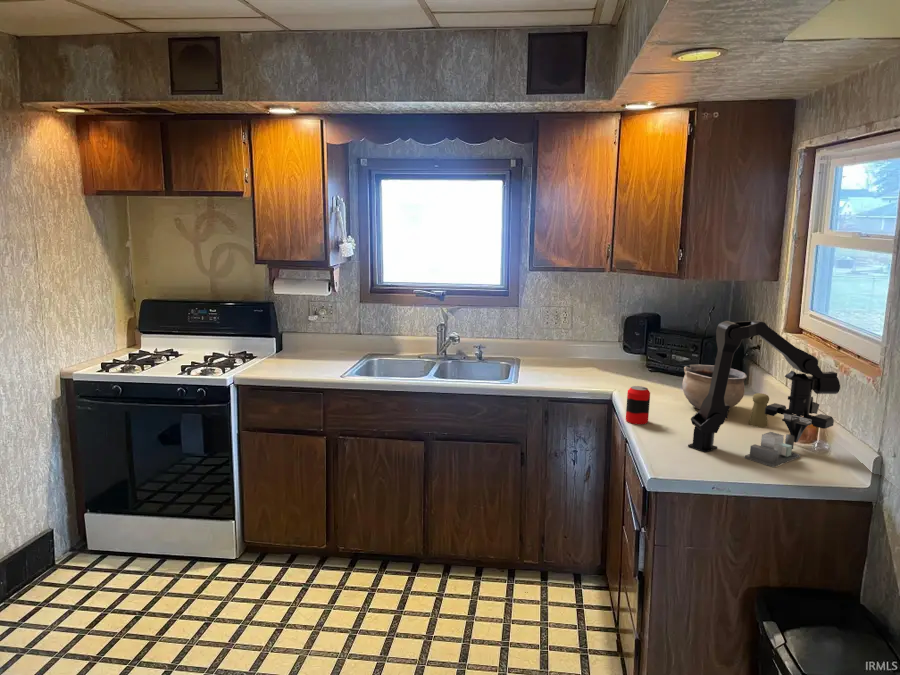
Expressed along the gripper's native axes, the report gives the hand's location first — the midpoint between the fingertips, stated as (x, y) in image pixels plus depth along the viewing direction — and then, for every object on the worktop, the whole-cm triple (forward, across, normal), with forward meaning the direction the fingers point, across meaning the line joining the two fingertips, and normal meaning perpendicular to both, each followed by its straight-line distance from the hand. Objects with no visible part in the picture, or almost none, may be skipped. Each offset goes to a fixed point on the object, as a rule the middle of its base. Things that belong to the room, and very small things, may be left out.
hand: (795, 442), depth 212 cm
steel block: (+2, 0, +14) cm, 14 cm away
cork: (+3, +20, -15) cm, 25 cm away
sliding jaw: (+1, 0, +7) cm, 7 cm away
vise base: (+2, 0, +13) cm, 13 cm away
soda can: (+2, +46, +18) cm, 50 cm away
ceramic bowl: (+3, +40, -18) cm, 44 cm away
